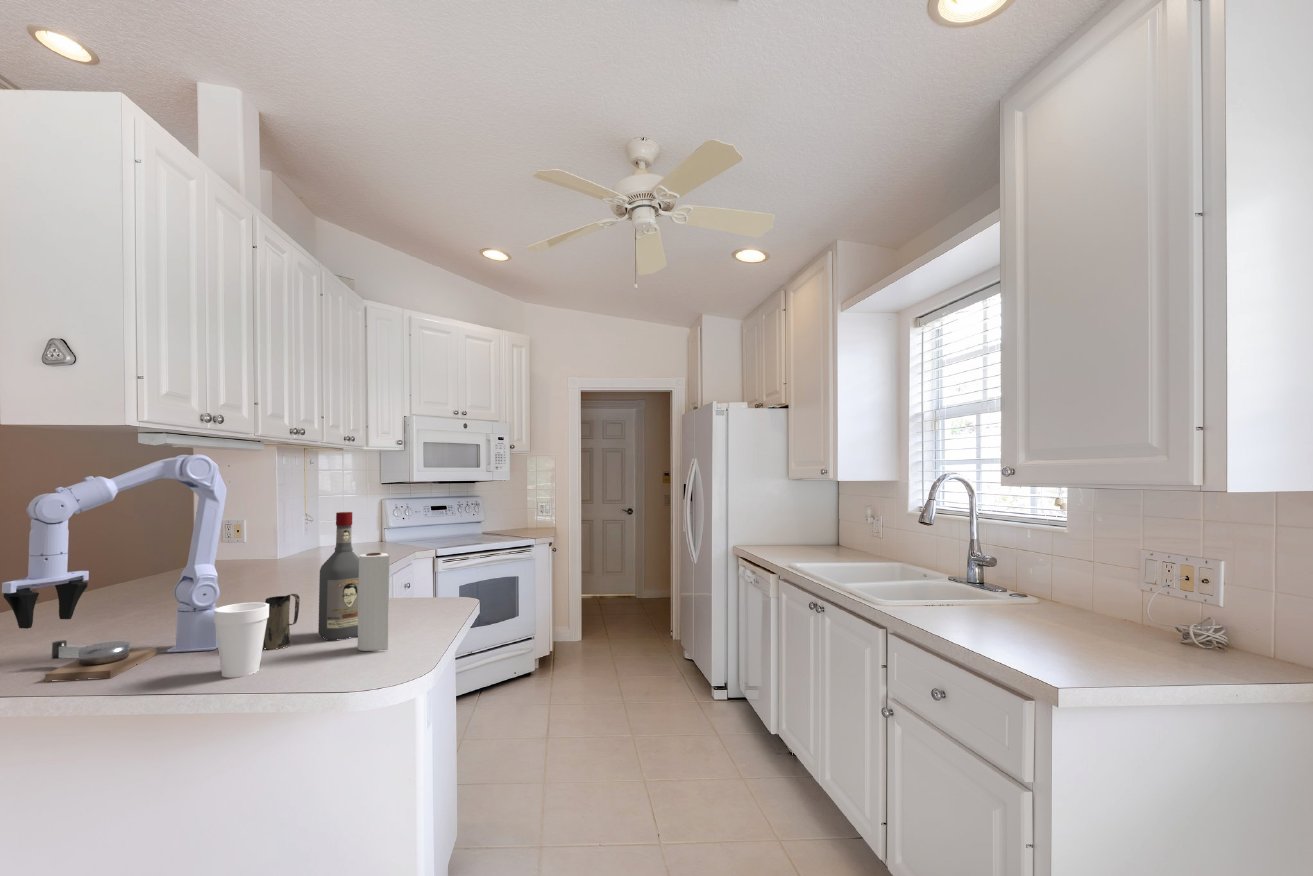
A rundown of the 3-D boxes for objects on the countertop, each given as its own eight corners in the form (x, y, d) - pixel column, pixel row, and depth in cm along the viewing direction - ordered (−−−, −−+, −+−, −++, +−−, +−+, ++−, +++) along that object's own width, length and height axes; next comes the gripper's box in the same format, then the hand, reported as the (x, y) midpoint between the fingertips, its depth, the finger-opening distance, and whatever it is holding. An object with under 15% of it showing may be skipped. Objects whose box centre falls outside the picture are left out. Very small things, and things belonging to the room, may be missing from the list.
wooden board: (155, 655, 144) (156, 647, 144) (110, 678, 128) (110, 669, 128) (98, 658, 141) (98, 650, 141) (44, 682, 126) (45, 673, 126)
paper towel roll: (356, 646, 150) (358, 553, 151) (385, 643, 153) (386, 551, 154) (358, 654, 144) (360, 556, 145) (388, 651, 147) (389, 555, 148)
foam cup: (204, 682, 126) (206, 613, 126) (221, 667, 135) (223, 604, 135) (260, 677, 128) (262, 610, 129) (273, 663, 137) (275, 601, 138)
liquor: (315, 635, 160) (318, 512, 161) (353, 628, 167) (355, 510, 168) (329, 642, 154) (331, 514, 155) (368, 635, 160) (370, 512, 162)
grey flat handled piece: (139, 653, 138) (139, 637, 139) (104, 665, 130) (105, 648, 131) (72, 652, 139) (72, 636, 140) (34, 663, 131) (34, 647, 132)
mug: (256, 649, 148) (257, 595, 149) (274, 642, 154) (275, 591, 154) (288, 650, 147) (289, 596, 147) (304, 644, 152) (305, 592, 153)
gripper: (69, 549, 138) (67, 614, 137) (-11, 558, 123) (-14, 631, 123) (98, 549, 137) (95, 615, 136) (20, 559, 122) (17, 633, 122)
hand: (46, 623), depth 129 cm, fingers open, 7 cm apart
